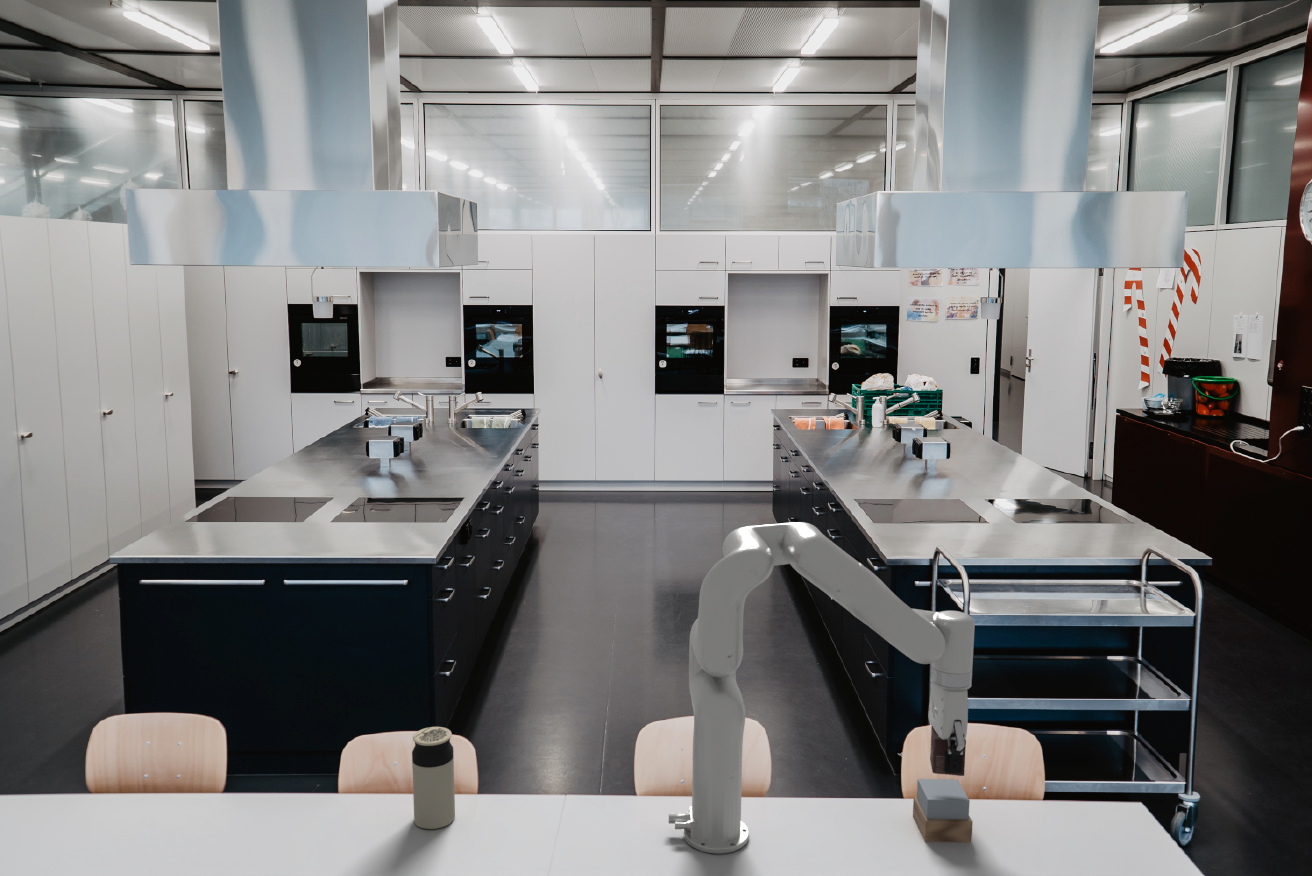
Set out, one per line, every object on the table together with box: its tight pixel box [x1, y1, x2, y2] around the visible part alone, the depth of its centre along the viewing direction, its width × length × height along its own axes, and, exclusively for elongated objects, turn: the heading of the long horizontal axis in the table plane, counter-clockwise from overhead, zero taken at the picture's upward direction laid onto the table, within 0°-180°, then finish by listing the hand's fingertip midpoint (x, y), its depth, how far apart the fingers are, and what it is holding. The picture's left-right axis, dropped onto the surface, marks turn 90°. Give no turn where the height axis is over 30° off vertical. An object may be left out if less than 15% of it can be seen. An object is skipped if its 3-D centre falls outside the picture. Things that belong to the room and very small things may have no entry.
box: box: [929, 725, 967, 777], centre depth 185 cm, size 6×6×7 cm
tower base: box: [912, 796, 973, 843], centre depth 188 cm, size 9×9×4 cm
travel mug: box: [411, 726, 456, 830], centre depth 189 cm, size 8×8×18 cm
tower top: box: [916, 778, 970, 820], centre depth 187 cm, size 8×8×4 cm
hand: (946, 761), depth 186 cm, fingers closed on box, 6 cm apart
